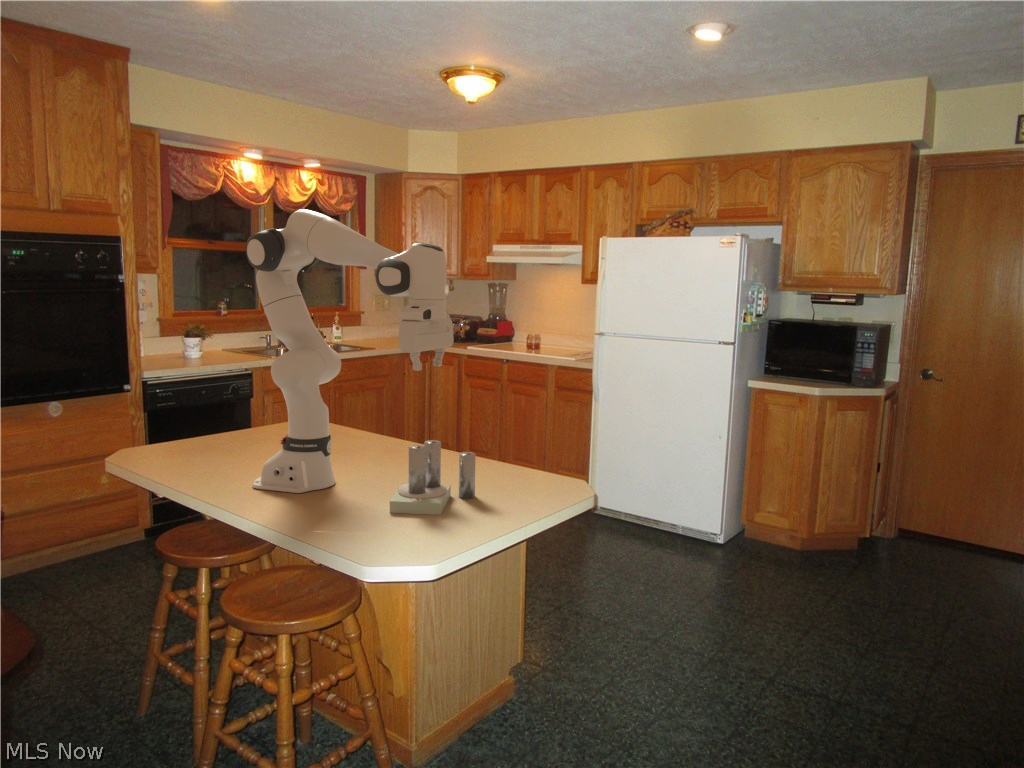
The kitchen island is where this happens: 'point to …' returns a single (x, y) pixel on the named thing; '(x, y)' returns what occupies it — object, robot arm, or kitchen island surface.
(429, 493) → the scale
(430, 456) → the cylinder
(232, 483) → the kitchen island surface
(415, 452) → the cylinder
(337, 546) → the kitchen island surface
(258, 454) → the kitchen island surface
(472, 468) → the cylinder
